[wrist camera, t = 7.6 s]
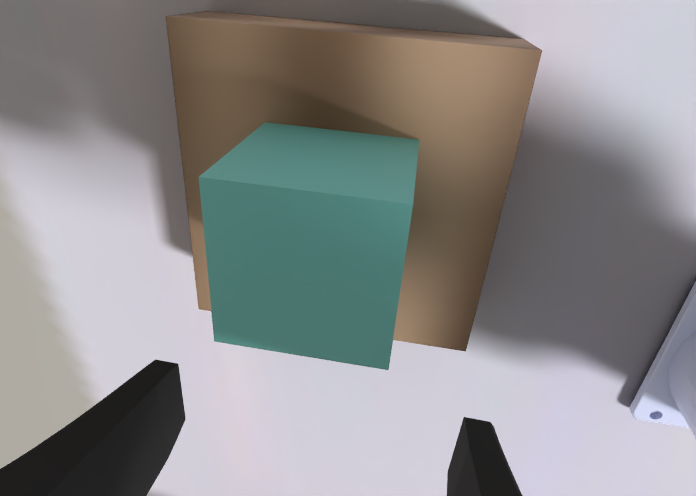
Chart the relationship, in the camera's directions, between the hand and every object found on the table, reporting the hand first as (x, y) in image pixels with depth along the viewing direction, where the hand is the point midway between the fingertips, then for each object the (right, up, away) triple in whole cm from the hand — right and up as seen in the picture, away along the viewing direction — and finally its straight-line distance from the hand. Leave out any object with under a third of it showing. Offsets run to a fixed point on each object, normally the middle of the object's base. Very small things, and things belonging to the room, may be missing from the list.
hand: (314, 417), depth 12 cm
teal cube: (0, +6, +4) cm, 7 cm away
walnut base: (+1, +7, +7) cm, 10 cm away
